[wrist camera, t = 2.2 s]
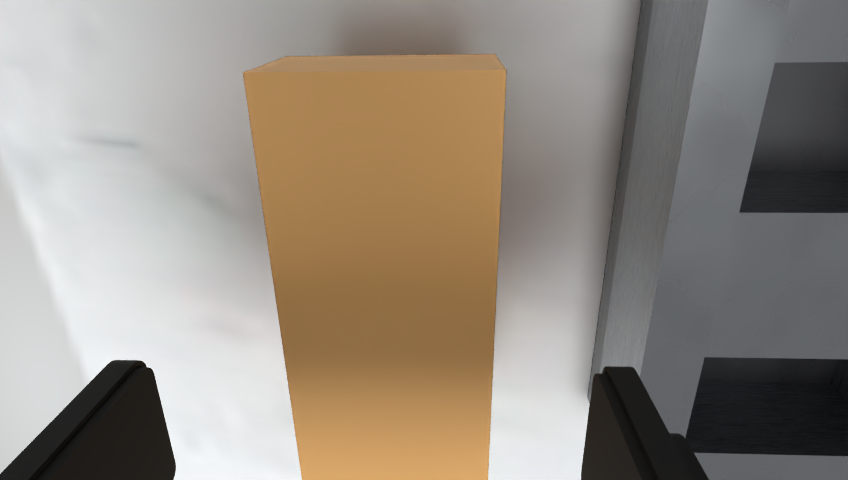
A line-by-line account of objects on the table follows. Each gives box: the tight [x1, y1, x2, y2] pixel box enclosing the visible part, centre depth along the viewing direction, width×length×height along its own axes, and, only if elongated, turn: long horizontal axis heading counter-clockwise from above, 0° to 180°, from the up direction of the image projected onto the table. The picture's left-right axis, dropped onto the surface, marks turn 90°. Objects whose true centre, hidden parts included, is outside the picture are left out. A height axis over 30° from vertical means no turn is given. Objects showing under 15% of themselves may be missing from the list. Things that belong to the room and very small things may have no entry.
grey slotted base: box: [588, 0, 848, 480], centre depth 16 cm, size 15×10×4 cm, turn 1°
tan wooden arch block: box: [243, 54, 506, 480], centre depth 16 cm, size 12×5×7 cm, turn 1°
